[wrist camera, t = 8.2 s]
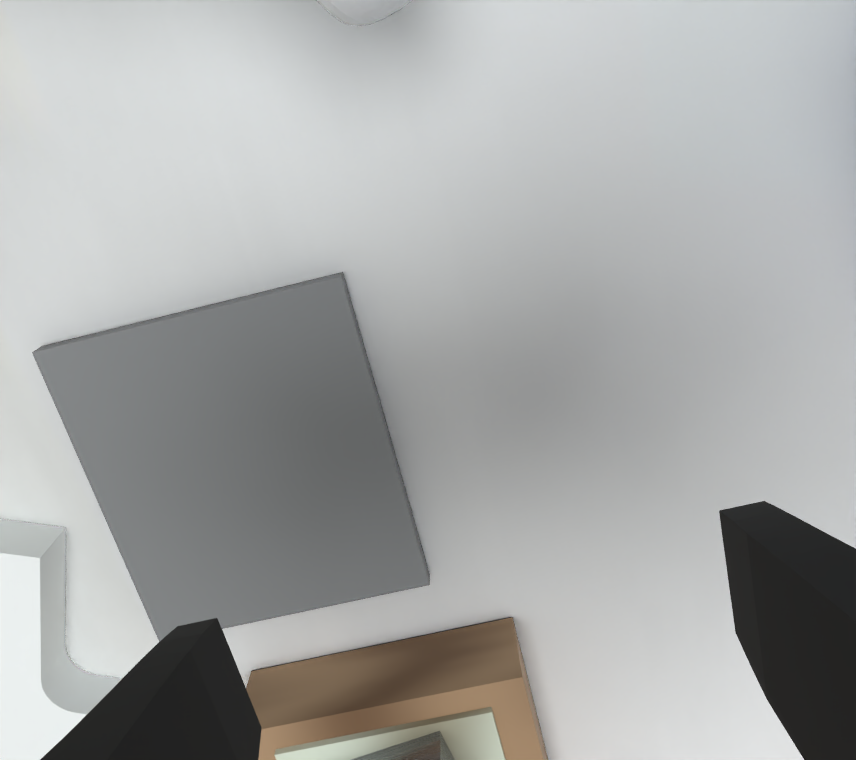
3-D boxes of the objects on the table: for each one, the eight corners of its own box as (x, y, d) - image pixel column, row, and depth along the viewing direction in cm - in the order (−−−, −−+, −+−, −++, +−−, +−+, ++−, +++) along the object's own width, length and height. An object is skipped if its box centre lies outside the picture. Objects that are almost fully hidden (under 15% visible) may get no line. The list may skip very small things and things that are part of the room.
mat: (342, 272, 19) (340, 276, 19) (429, 574, 22) (429, 584, 22) (41, 346, 20) (31, 352, 19) (165, 630, 23) (159, 642, 22)
